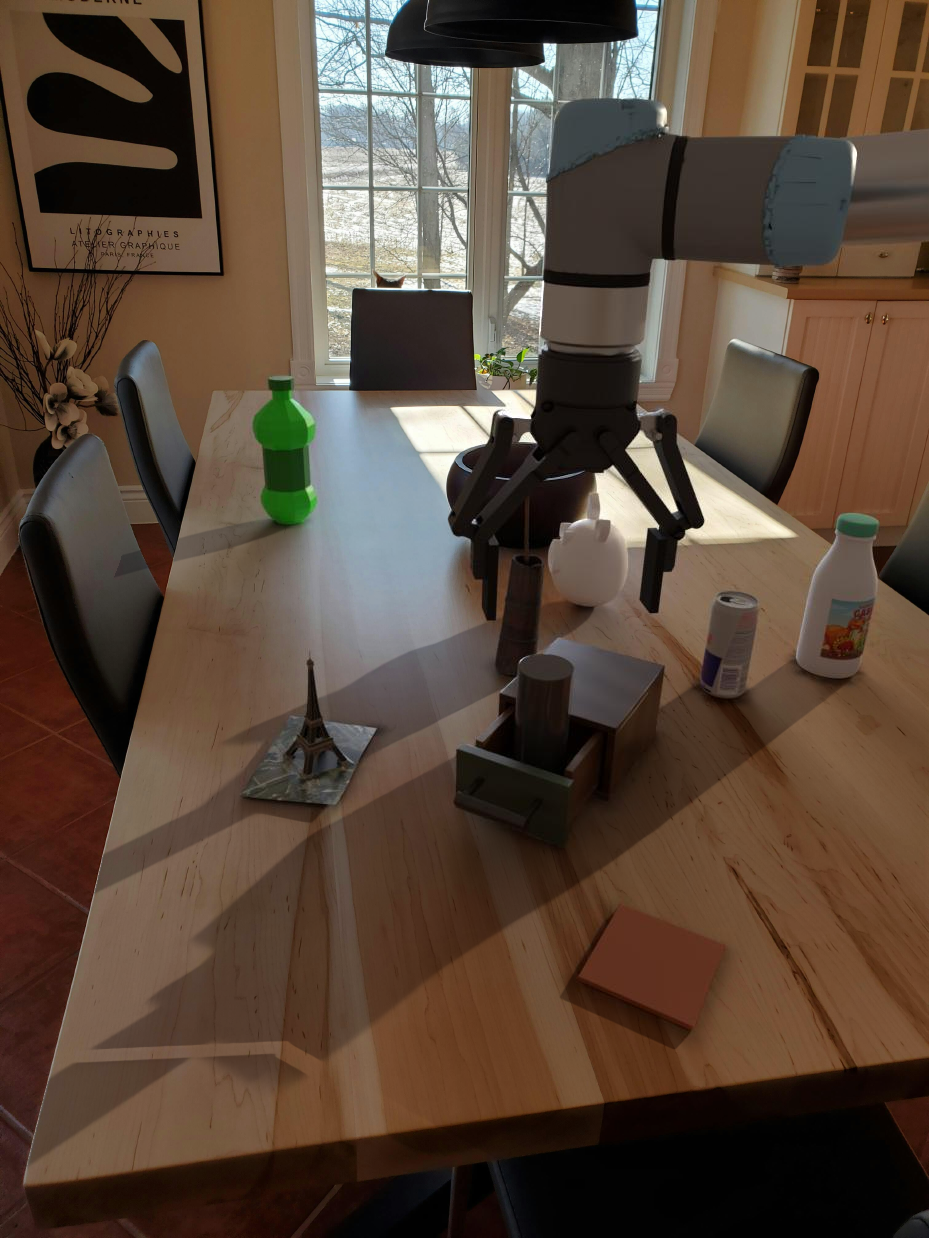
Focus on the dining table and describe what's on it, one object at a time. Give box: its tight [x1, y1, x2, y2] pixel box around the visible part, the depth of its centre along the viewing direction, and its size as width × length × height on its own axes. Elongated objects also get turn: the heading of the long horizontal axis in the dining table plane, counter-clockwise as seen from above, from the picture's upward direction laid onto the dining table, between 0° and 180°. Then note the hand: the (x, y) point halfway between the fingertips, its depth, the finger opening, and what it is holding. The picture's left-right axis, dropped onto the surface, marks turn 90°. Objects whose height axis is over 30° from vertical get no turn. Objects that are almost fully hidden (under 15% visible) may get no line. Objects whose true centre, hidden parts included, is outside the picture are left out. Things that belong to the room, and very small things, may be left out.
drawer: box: [453, 704, 608, 849], centre depth 86 cm, size 18×11×7 cm, turn 150°
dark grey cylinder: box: [513, 653, 574, 777], centre depth 86 cm, size 5×5×13 cm
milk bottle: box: [795, 512, 880, 679], centre depth 111 cm, size 8×8×20 cm
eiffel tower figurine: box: [239, 649, 378, 806], centre depth 92 cm, size 15×10×13 cm
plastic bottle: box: [251, 375, 318, 525], centre depth 156 cm, size 10×10×25 cm
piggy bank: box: [547, 492, 629, 607], centre depth 128 cm, size 12×12×15 cm
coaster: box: [577, 903, 727, 1032], centre depth 71 cm, size 9×9×1 cm
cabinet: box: [497, 637, 666, 802], centre depth 96 cm, size 15×13×9 cm
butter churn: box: [494, 445, 545, 677], centre depth 107 cm, size 9×10×28 cm
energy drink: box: [699, 590, 761, 699], centre depth 107 cm, size 5×5×12 cm
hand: (569, 610), depth 74 cm, fingers open, 13 cm apart
